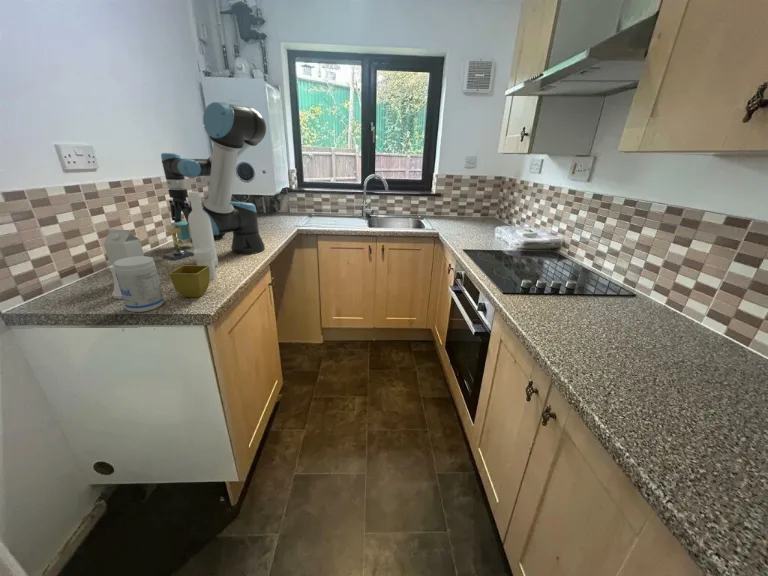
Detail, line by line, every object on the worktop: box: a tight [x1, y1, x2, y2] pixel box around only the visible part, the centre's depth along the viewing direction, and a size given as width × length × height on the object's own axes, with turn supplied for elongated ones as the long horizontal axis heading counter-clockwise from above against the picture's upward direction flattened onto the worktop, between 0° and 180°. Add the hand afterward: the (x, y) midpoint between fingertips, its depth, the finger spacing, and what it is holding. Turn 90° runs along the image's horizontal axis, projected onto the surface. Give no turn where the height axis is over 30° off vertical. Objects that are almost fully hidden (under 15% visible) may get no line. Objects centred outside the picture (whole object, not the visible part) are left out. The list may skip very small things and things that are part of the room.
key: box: [165, 224, 184, 251], centre depth 139 cm, size 4×14×11 cm, turn 42°
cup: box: [192, 248, 217, 281], centre depth 117 cm, size 7×7×11 cm
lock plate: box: [162, 249, 194, 261], centre depth 143 cm, size 9×9×2 cm
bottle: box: [188, 191, 219, 268], centre depth 127 cm, size 8×8×30 cm
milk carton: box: [103, 228, 145, 266], centre depth 111 cm, size 7×7×19 cm
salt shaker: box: [108, 265, 123, 300], centre depth 102 cm, size 8×8×10 cm
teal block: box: [170, 220, 192, 241], centre depth 155 cm, size 8×9×7 cm
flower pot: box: [168, 264, 211, 298], centre depth 104 cm, size 9×9×9 cm
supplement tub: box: [113, 255, 165, 313], centre depth 94 cm, size 10×10×15 cm
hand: (187, 236), depth 156 cm, fingers closed on teal block, 8 cm apart
